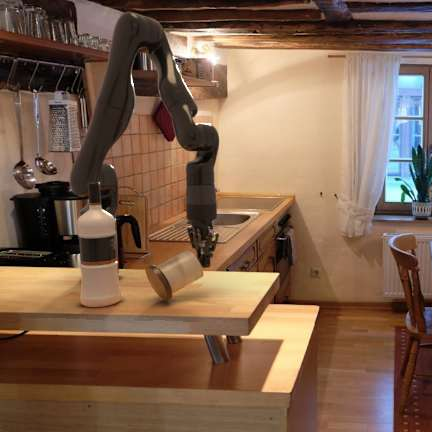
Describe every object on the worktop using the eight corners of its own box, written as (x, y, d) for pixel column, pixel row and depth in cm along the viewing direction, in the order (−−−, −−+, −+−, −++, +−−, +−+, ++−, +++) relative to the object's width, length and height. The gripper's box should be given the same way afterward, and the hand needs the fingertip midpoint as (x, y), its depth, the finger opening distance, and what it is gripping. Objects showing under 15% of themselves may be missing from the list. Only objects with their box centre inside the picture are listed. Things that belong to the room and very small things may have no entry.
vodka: (76, 301, 140) (68, 181, 136) (116, 294, 146) (109, 179, 141) (85, 310, 133) (76, 184, 128) (126, 303, 139) (119, 182, 134)
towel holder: (156, 296, 145) (140, 263, 141) (210, 266, 155) (197, 234, 151) (172, 305, 138) (157, 271, 134) (228, 273, 148) (215, 240, 144)
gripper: (227, 202, 143) (230, 269, 146) (202, 197, 153) (205, 259, 155) (199, 205, 138) (202, 274, 140) (175, 199, 147) (178, 264, 150)
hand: (203, 266), depth 148 cm, fingers closed on towel holder
